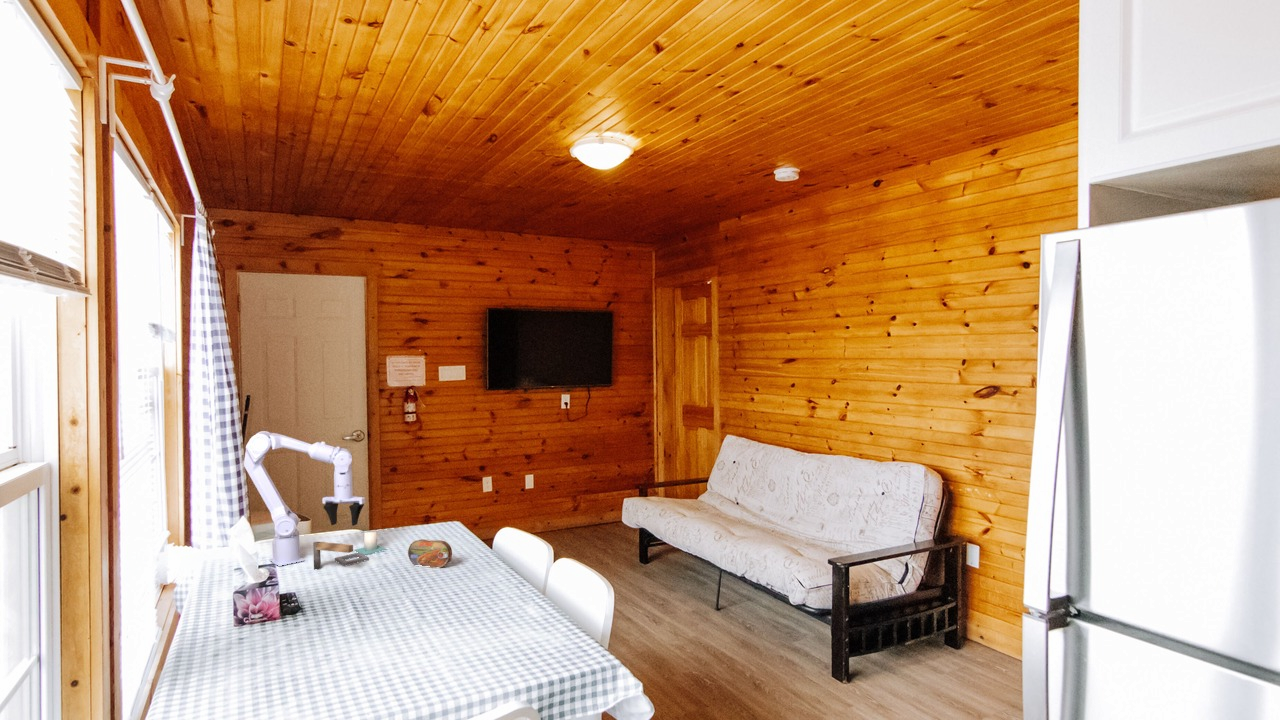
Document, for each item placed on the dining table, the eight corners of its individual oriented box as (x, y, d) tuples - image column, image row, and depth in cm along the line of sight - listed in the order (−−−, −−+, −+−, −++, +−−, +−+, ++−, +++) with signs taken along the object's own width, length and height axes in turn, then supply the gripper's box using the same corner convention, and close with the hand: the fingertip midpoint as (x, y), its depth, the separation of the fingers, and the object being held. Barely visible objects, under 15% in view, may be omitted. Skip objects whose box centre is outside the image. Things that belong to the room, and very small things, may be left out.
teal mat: (354, 551, 235) (354, 549, 235) (376, 546, 241) (376, 544, 241) (364, 555, 230) (364, 554, 230) (387, 550, 235) (387, 549, 235)
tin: (407, 565, 219) (407, 539, 218) (413, 562, 222) (413, 537, 221) (448, 569, 214) (447, 542, 214) (453, 566, 217) (453, 540, 217)
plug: (361, 550, 234) (361, 533, 234) (370, 547, 238) (369, 530, 238) (371, 551, 233) (370, 534, 233) (379, 548, 237) (379, 531, 236)
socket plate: (334, 560, 225) (334, 557, 225) (358, 555, 230) (358, 552, 230) (344, 565, 219) (344, 562, 219) (368, 560, 225) (368, 557, 225)
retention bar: (312, 569, 216) (311, 543, 216) (317, 567, 218) (316, 541, 218) (349, 573, 212) (348, 546, 212) (353, 571, 214) (353, 544, 213)
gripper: (316, 487, 228) (317, 527, 228) (356, 487, 226) (357, 528, 226) (329, 482, 235) (330, 521, 235) (368, 483, 233) (369, 522, 233)
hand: (344, 524), depth 231 cm, fingers open, 7 cm apart
